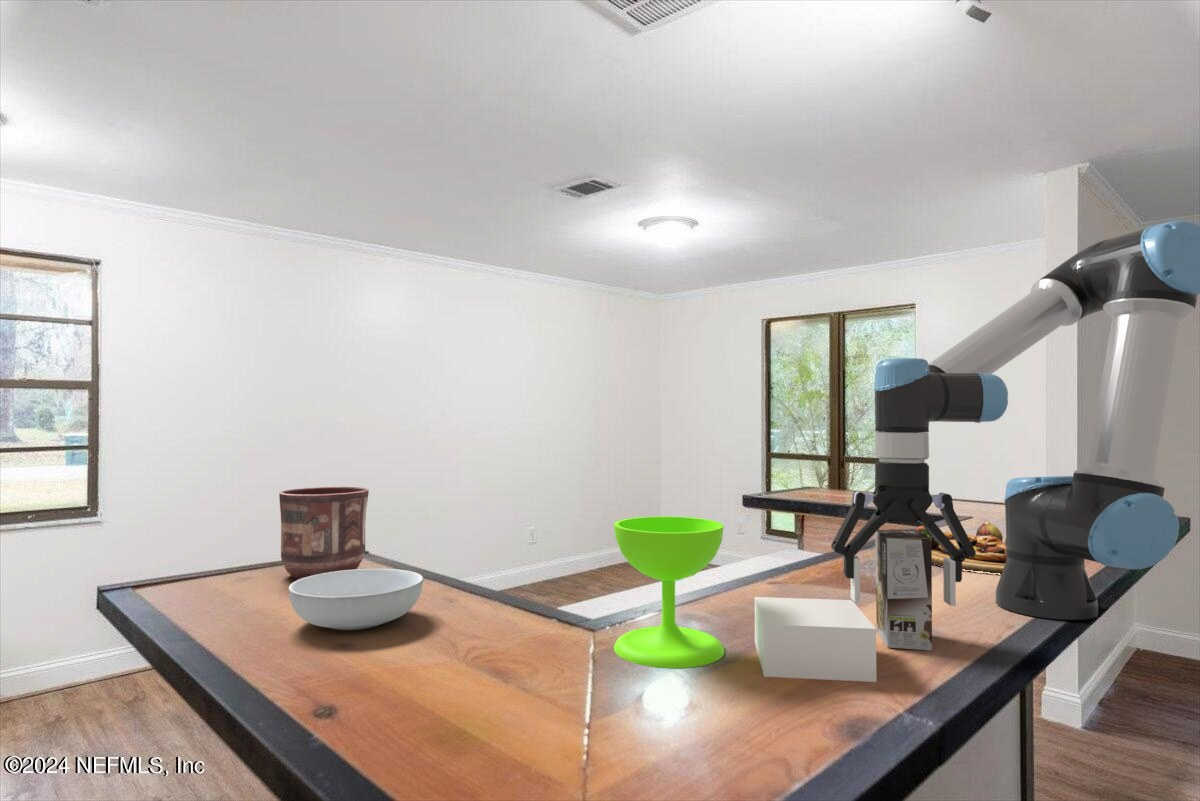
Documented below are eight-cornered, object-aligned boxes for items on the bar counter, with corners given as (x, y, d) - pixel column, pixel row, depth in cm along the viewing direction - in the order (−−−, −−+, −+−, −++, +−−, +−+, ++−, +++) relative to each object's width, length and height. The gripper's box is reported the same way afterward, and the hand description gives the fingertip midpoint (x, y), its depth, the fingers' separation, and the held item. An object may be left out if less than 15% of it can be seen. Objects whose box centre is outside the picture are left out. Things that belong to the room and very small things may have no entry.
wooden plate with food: (891, 563, 162) (891, 528, 162) (930, 543, 186) (930, 512, 186) (1055, 588, 141) (1055, 547, 141) (1074, 561, 166) (1075, 526, 166)
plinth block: (852, 648, 103) (851, 600, 103) (876, 684, 89) (876, 628, 89) (754, 643, 105) (754, 596, 105) (763, 678, 91) (763, 624, 91)
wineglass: (650, 676, 91) (650, 537, 91) (594, 641, 105) (594, 520, 106) (747, 656, 98) (747, 527, 99) (683, 626, 113) (683, 513, 113)
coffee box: (934, 651, 100) (933, 538, 101) (886, 648, 102) (885, 537, 102) (918, 632, 109) (917, 528, 110) (875, 629, 111) (874, 527, 111)
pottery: (349, 584, 140) (350, 494, 141) (262, 584, 141) (264, 494, 141) (378, 566, 158) (379, 486, 159) (301, 566, 158) (302, 486, 159)
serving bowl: (448, 613, 120) (448, 573, 120) (359, 651, 101) (359, 603, 101) (356, 600, 129) (356, 562, 129) (257, 632, 110) (258, 587, 110)
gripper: (978, 460, 108) (979, 598, 108) (812, 458, 111) (812, 592, 111) (1000, 463, 101) (1001, 611, 100) (821, 461, 104) (821, 605, 103)
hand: (902, 602), depth 106 cm, fingers open, 13 cm apart
